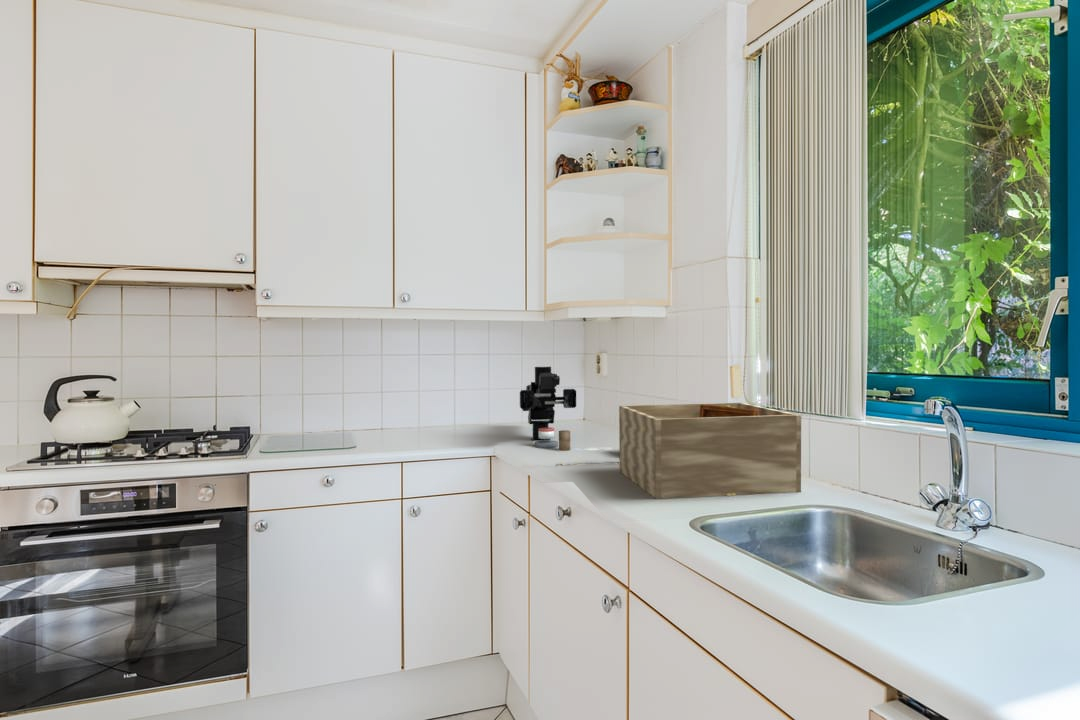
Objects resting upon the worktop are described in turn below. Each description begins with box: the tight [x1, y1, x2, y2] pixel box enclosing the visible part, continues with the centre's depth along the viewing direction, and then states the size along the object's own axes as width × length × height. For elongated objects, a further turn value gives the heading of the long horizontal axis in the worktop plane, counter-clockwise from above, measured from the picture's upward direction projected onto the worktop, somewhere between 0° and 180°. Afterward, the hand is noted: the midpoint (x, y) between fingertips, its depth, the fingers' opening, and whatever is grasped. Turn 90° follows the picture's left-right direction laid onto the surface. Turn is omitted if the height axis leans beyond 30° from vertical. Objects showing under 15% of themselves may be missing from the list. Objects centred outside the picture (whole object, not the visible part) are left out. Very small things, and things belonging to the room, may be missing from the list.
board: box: [534, 439, 614, 453], centre depth 198 cm, size 15×24×2 cm, turn 99°
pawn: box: [558, 429, 571, 452], centre depth 193 cm, size 4×4×6 cm
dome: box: [538, 427, 555, 440], centre depth 200 cm, size 5×5×3 cm
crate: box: [618, 402, 802, 500], centre depth 154 cm, size 29×35×18 cm
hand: (552, 401), depth 193 cm, fingers open, 9 cm apart
